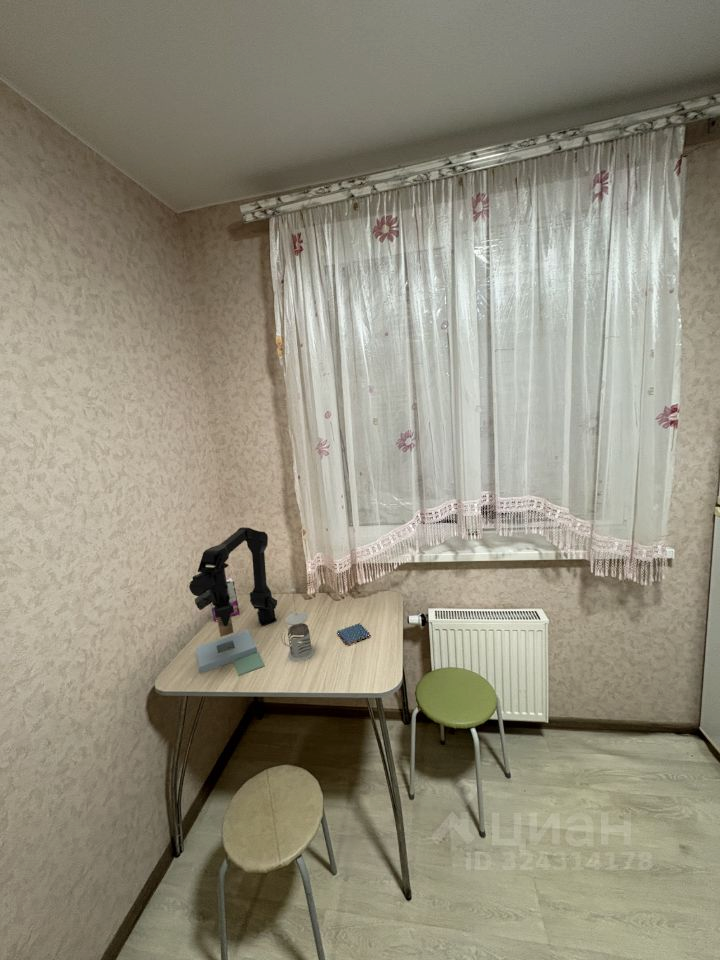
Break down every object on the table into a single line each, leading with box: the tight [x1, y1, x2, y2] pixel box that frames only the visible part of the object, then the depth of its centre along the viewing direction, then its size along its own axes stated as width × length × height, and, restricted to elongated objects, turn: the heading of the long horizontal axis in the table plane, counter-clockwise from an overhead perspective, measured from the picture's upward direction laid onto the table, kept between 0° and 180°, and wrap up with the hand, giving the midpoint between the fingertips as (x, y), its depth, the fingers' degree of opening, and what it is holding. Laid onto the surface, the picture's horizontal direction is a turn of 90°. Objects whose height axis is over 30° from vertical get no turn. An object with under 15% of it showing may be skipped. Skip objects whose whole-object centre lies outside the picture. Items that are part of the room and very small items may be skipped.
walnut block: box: [216, 615, 234, 638], centre depth 139 cm, size 4×4×9 cm
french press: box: [280, 588, 316, 662], centre depth 136 cm, size 10×12×25 cm
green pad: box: [233, 651, 265, 677], centre depth 135 cm, size 9×9×1 cm
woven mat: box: [336, 622, 372, 646], centre depth 146 cm, size 10×11×2 cm
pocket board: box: [195, 629, 258, 674], centre depth 143 cm, size 20×14×2 cm
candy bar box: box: [208, 576, 240, 622], centre depth 170 cm, size 11×5×16 cm, turn 117°
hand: (224, 622), depth 139 cm, fingers closed on walnut block, 4 cm apart
